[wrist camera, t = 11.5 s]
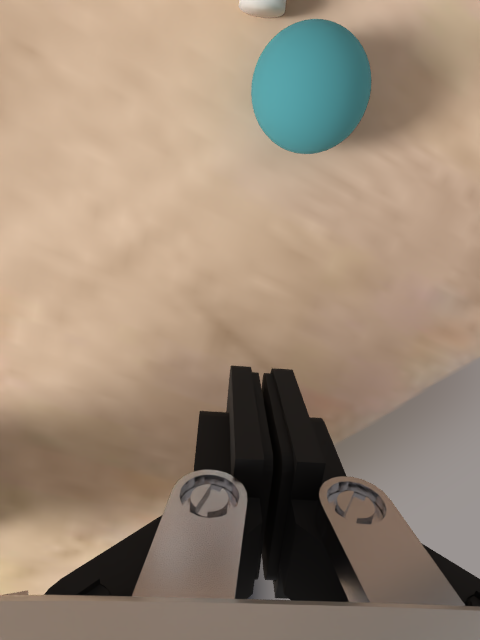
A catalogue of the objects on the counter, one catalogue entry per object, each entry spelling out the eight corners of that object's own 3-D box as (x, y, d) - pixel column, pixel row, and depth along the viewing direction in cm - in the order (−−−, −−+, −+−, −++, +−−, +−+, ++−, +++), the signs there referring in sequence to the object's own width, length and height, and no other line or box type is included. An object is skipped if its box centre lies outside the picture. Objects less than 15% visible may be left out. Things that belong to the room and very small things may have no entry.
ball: (354, 36, 23) (296, 136, 27) (271, -23, 20) (216, 101, 23) (419, 78, 20) (343, 188, 23) (331, 16, 16) (257, 155, 20)
